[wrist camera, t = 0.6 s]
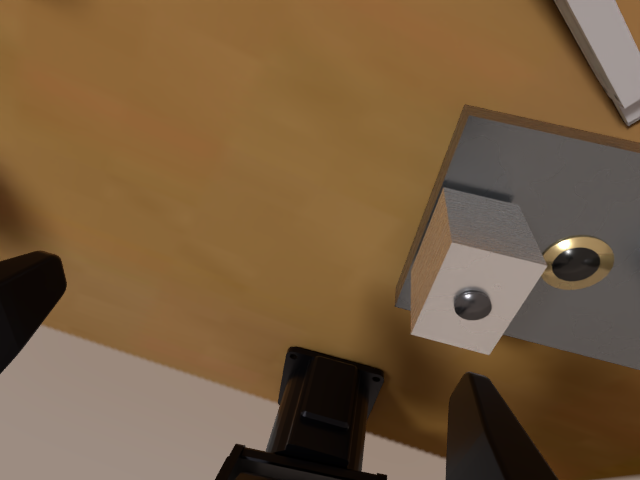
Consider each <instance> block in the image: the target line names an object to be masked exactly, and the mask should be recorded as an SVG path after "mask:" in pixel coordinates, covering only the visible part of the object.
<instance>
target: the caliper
mask: <svg viewBox="0 0 640 480" xmlns="http://www.w3.org/2000/svg"><path fill="white" fill-rule="evenodd" d="M554 2H555V4H556V6H557V8H558V10H559V11H560V13H561V15H562V17H563V19H564V20H565V22H566V24H567V26H568V28H569V29H570V31H571V33H572V35H573V37H574V39H575V40H576V42H577V44H578V46H579V48H580V49H581V51H582V53H583V55H584V57H585V59H586V60H587V62H588V64H589V66H590V67H591V69H592V71H593V72H594V74H595V75H596V77H597V79H598V80H599V82H600V84H601V85H602V87H603V88H604V90H605V92H606V93H607V95H608V96H609V97H610V98H611V99H612V100H613V102H614V104H615V106H616V108H617V110H618V112H619V113H620V115H621V117H622V119H623V120H624V122H625V123H626V125H627V126H629V125H631V124H633V123H634V122H636V121H638V120H640V53H639V50H638V48H637V46H636V44H635V42H634V40H633V38H632V35H631V33H630V31H629V29H628V27H627V25H626V23H625V21H624V18H623V16H622V14H621V12H620V10H619V8H618V6H617V3H616V1H615V0H554Z"/></svg>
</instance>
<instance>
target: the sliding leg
mask: <svg viewBox="0 0 640 480" xmlns="http://www.w3.org/2000/svg"><path fill="white" fill-rule="evenodd" d="M546 268H547V264H546V261H545V259H544V257H543V255H542V253H541V251H540V249H539V247H538V245H537V242H536V240H535V238H534V236H533V234H532V232H531V230H530V228H529V226H528V223H527V221H526V219H525V217H524V215H523V213H522V211H521V209H520V207H519V205H517V204H513V203H509V202H504V201H500V200H496V199H492V198H487V197H483V196H479V195H475V194H470V193H466V192H462V191H458V190H453V189H449V188H445V187H443V190H442V192H441V195H440V197H439V200H438V203H437V205H436V208H435V210H434V213H433V215H432V218H431V220H430V223H429V226H428V228H427V231H426V233H425V236H424V238H423V241H422V243H421V246H420V249H419V251H418V254H417V256H416V259H415V261H414V264H413V266H412V269H411V335H415V336H419V337H423V338H426V339H430V340H434V341H438V342H442V343H445V344H449V345H453V346H457V347H461V348H464V349H468V350H472V351H476V352H480V353H483V354H487V355H490V353H491V351H492V350H493V348H494V347H495V345H496V344H497V342H498V341H499V339H500V338H501V336H502V335H503V333H504V332H505V330H506V329H507V327H508V326H509V324H510V322H511V321H512V319H513V318H514V316H515V315H516V313H517V312H518V310H519V309H520V307H521V306H522V304H523V303H524V301H525V300H526V298H527V297H528V295H529V293H530V292H531V290H532V289H533V287H534V286H535V284H536V283H537V281H538V280H539V278H540V277H541V275H542V274H543V272H544V271H545V269H546Z"/></svg>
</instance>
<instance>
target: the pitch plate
mask: <svg viewBox="0 0 640 480" xmlns="http://www.w3.org/2000/svg"><path fill="white" fill-rule="evenodd" d="M443 187H445V188H449V189H453V190H458V191H462V192H466V193H470V194H475V195H479V196H483V197H487V198H492V199H496V200H500V201H504V202H509V203H513V204H517V205H519V207H520V209H521V211H522V213H523V215H524V217H525V219H526V221H527V223H528V226H529V228H530V230H531V232H532V234H533V236H534V238H535V240H536V242H537V245H538V247H539V249H540V251H541V253H542V255H543V257H544V259H545V261H546V264H547V268H546V269H545V271H544V272H543V274H542V275H541V277H540V278H539V280H538V281H537V283H536V284H535V286H534V287H533V289H532V290H531V292H530V293H529V295H528V297H527V298H526V300H525V301H524V303H523V304H522V306H521V307H520V309H519V310H518V312H517V313H516V315H515V316H514V318H513V319H512V321H511V322H510V324H509V326H508V327H507V329H506V330H505V332H504V333H503V335H507V336H510V337H514V338H518V339H522V340H526V341H530V342H534V343H537V344H541V345H545V346H549V347H553V348H557V349H561V350H564V351H568V352H572V353H576V354H580V355H584V356H588V357H592V358H595V359H599V360H603V361H607V362H611V363H615V364H619V365H622V366H626V367H630V368H634V369H638V370H640V143H637V142H632V141H628V140H623V139H619V138H614V137H610V136H605V135H601V134H596V133H592V132H587V131H583V130H578V129H573V128H569V127H564V126H560V125H555V124H551V123H546V122H542V121H537V120H533V119H528V118H524V117H519V116H514V115H510V114H505V113H501V112H496V111H492V110H487V109H483V108H478V107H474V106H469V105H464V107H463V110H462V113H461V115H460V118H459V121H458V123H457V126H456V129H455V131H454V134H453V137H452V139H451V142H450V145H449V147H448V150H447V153H446V155H445V158H444V161H443V163H442V166H441V169H440V171H439V174H438V177H437V180H436V182H435V185H434V188H433V190H432V193H431V196H430V198H429V201H428V204H427V206H426V209H425V212H424V214H423V217H422V220H421V222H420V225H419V228H418V230H417V233H416V236H415V238H414V241H413V244H412V246H411V249H410V252H409V254H408V257H407V260H406V262H405V265H404V268H403V270H402V273H401V276H400V278H399V281H398V284H397V286H396V296H395V307H398V308H402V309H406V310H410V311H411V269H412V266H413V264H414V261H415V259H416V256H417V254H418V251H419V249H420V246H421V243H422V241H423V238H424V236H425V233H426V231H427V228H428V226H429V223H430V220H431V218H432V215H433V213H434V210H435V208H436V205H437V203H438V200H439V197H440V195H441V192H442V190H443Z"/></svg>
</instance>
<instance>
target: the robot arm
mask: <svg viewBox="0 0 640 480" xmlns="http://www.w3.org/2000/svg"><path fill="white" fill-rule="evenodd" d="M66 287H67V282H66V278H65V273H64V269H63V265H62V261H61V259H60V257H59V256H57V255H55V254H51V253H48V252H44V251H35V252H31V253H28V254H24V255H21V256H17V257H14V258H10V259H7V260H3V261H0V374H1V373H2V371H3V370H4V369H5V368H6V367H7V366H8V365H9V364H10V363H11V362H12V360H13V359H14V358H15V357H16V356H17V355H18V353H19V352H20V351H21V350H22V349H23V347H24V346H25V345H26V343H27V342H28V341H29V340H30V338H31V337H32V336H33V334H34V333H35V332H36V330H37V329H38V328H39V326H40V325H41V324H42V322H43V321H44V320H45V318H46V317H47V316H48V314H49V313H50V312H51V310H52V309H53V308H54V306H55V305H56V304H57V302H58V301H59V300H60V298H61V297H62V296H63V294H64V292H65V290H66ZM383 382H384V373H383V372H382V371H381V370H379V369H375V368H371V367H368V366H364V365H360V364H357V363H353V362H349V361H346V360H342V359H338V358H335V357H331V356H327V355H323V354H320V353H316V352H312V351H309V350H305V349H301V348H298V347H290V348H289V349H288V351H287V354H286V359H285V364H284V370H283V376H282V382H281V387H280V393H279V399H278V404H279V405H280V407H279V410H278V414H277V416H276V419H275V423H274V427H273V429H272V433H271V436H270V439H269V442H268V445H267V448H266V452H265V451H260V450H255V449H251V448H246V447H245V445H240V444H235V446H234V448H233V450H232V452H231V453H230V456H228V457H227V458H226V460H225V462H224V464H223V466H222V467H221V469H220V471H219V473H218V475H217V477H216V479H215V480H387V475H384V474H379V473H377V475H375V474H370V473H366V472H361V470H362V460H363V451H364V440H365V432H366V422H367V419H368V417H369V414H370V412H371V410H372V407H373V405H374V403H375V401H376V398H377V396H378V394H379V391H380V389H381V387H382V384H383ZM446 480H558V478H557V477H556V475H555V474H554V472H553V471H552V469H551V468H550V467H549V465H548V464H547V462H546V461H545V459H544V458H543V456H542V455H541V453H540V452H539V451H538V449H537V448H536V446H535V445H534V443H533V442H532V440H531V439H530V437H529V436H528V435H527V433H526V432H525V430H524V429H523V427H522V426H521V424H520V423H519V421H518V420H517V419H516V417H515V416H514V414H513V413H512V411H511V410H510V408H509V407H508V405H507V404H506V403H505V401H504V400H503V398H502V397H501V395H500V394H499V392H498V391H497V389H496V388H495V387H494V385H493V384H492V382H491V381H490V379H488V378H487V377H486V376H483V375H480V374H476V373H473V372H466V373H465V374H464V375H463V377H462V378H461V380H460V382H459V383H458V385H457V386H456V388H455V390H454V391H453V393H452V395H451V397H450V401H449V413H448V435H447V458H446Z"/></svg>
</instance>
